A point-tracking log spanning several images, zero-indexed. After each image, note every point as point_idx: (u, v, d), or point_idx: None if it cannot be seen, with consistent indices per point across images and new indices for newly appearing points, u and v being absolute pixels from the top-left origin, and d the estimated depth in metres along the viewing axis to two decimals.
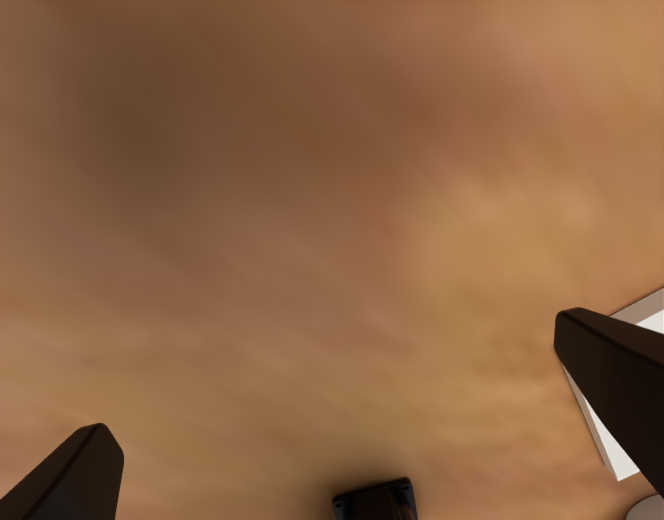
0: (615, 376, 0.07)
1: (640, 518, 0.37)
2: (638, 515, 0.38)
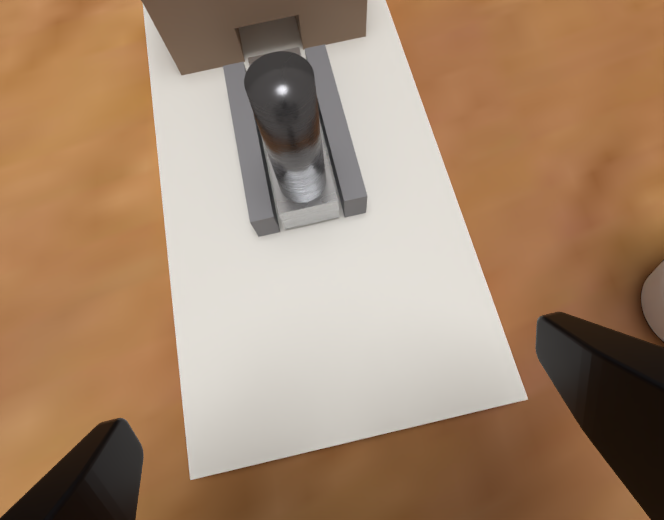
0: (593, 382, 0.06)
1: None
2: None
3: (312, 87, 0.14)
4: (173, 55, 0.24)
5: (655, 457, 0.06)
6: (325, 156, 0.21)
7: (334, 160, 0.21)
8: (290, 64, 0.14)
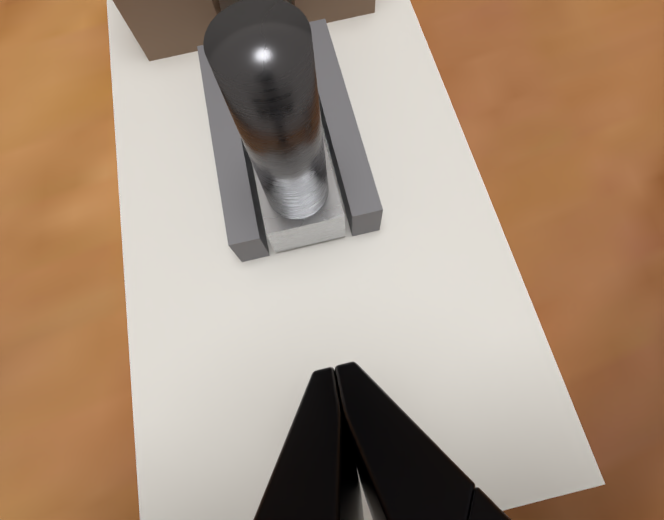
0: (351, 442, 0.06)
1: None
2: None
3: (308, 49, 0.09)
4: (136, 35, 0.19)
5: None
6: (327, 158, 0.16)
7: (338, 163, 0.16)
8: (274, 16, 0.09)
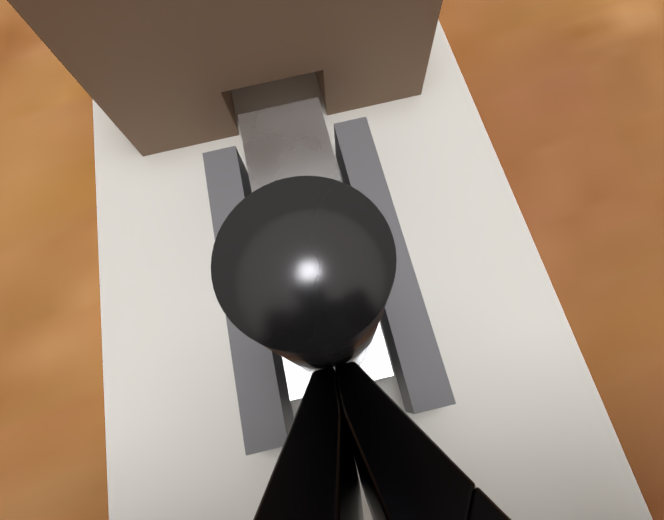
0: (351, 441, 0.06)
1: None
2: None
3: (392, 282, 0.05)
4: (126, 132, 0.15)
5: None
6: None
7: (392, 329, 0.12)
8: (331, 215, 0.05)
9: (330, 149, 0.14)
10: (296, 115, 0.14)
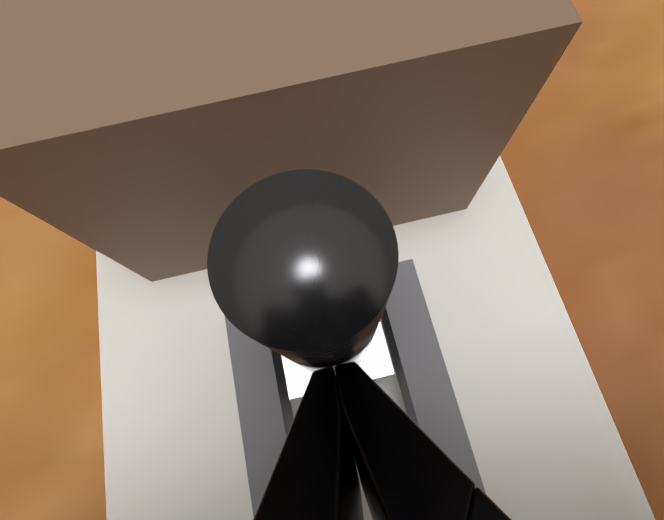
0: (351, 442, 0.06)
1: None
2: None
3: (394, 279, 0.05)
4: (133, 268, 0.13)
5: None
6: None
7: None
8: (331, 209, 0.05)
9: None
10: None
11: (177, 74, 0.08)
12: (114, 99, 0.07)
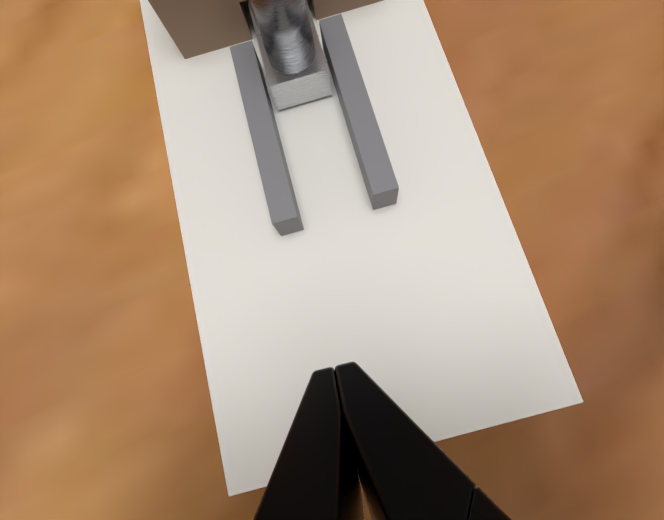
0: (351, 442, 0.06)
1: None
2: None
3: None
4: (174, 38, 0.22)
5: None
6: (313, 27, 0.20)
7: (359, 148, 0.19)
8: None
9: None
10: None
11: None
12: None
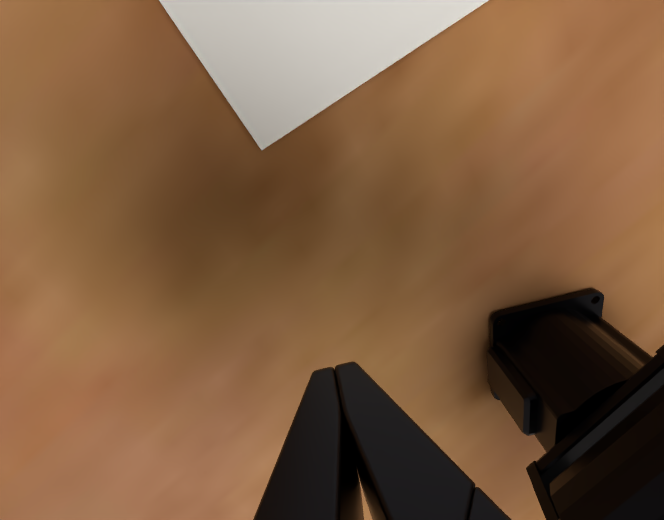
0: (351, 442, 0.06)
1: None
2: None
3: None
4: None
5: None
6: None
7: None
8: None
9: None
10: None
11: None
12: None
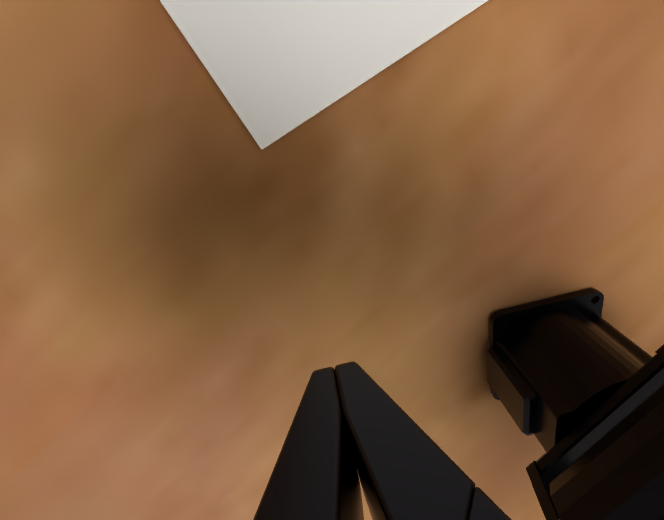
0: (351, 441, 0.06)
1: None
2: None
3: None
4: None
5: None
6: None
7: None
8: None
9: None
10: None
11: None
12: None
